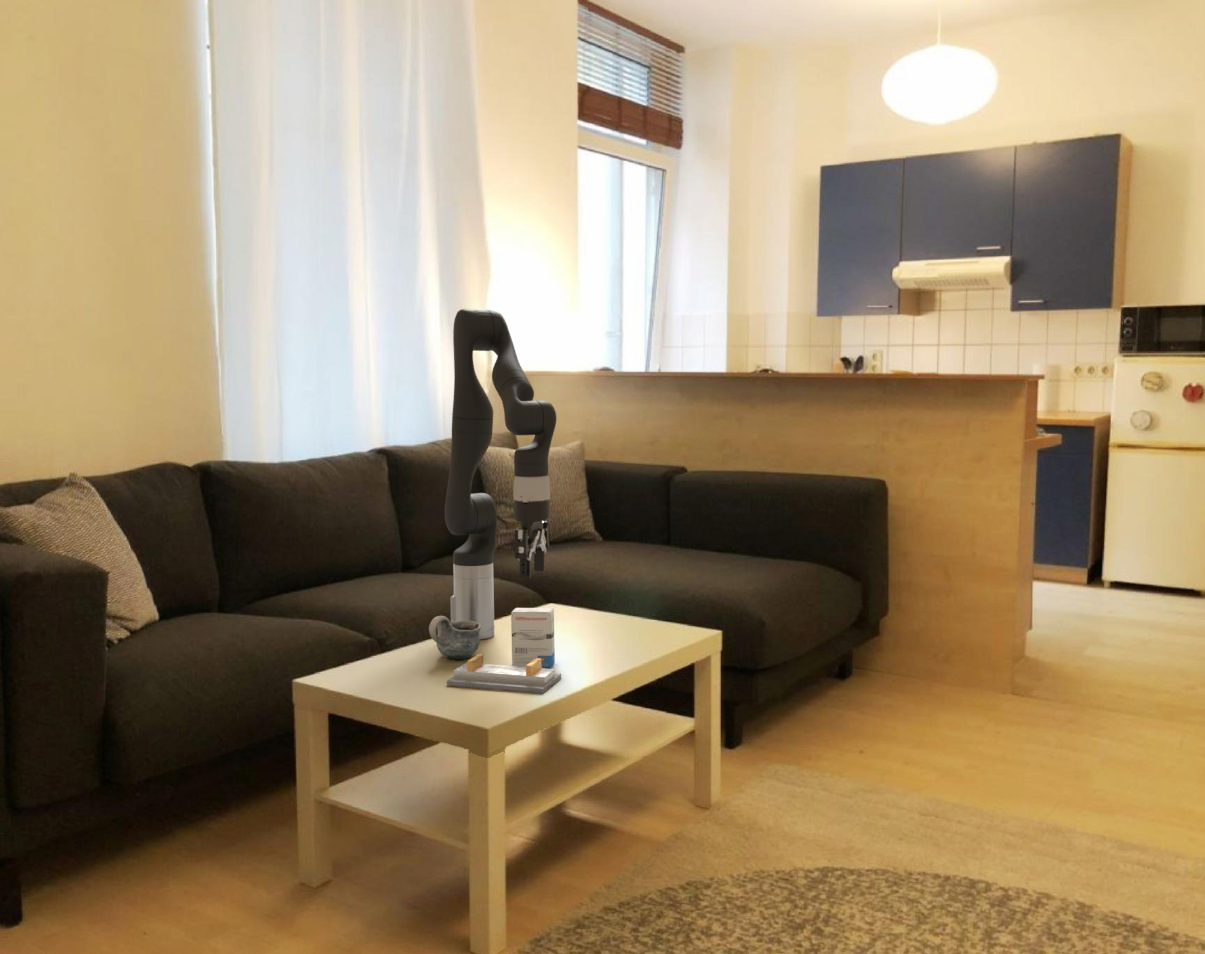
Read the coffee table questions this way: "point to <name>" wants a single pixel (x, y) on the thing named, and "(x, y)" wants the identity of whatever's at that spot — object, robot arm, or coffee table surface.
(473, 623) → the mug
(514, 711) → the coffee table surface
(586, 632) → the coffee table surface
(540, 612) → the ink box
